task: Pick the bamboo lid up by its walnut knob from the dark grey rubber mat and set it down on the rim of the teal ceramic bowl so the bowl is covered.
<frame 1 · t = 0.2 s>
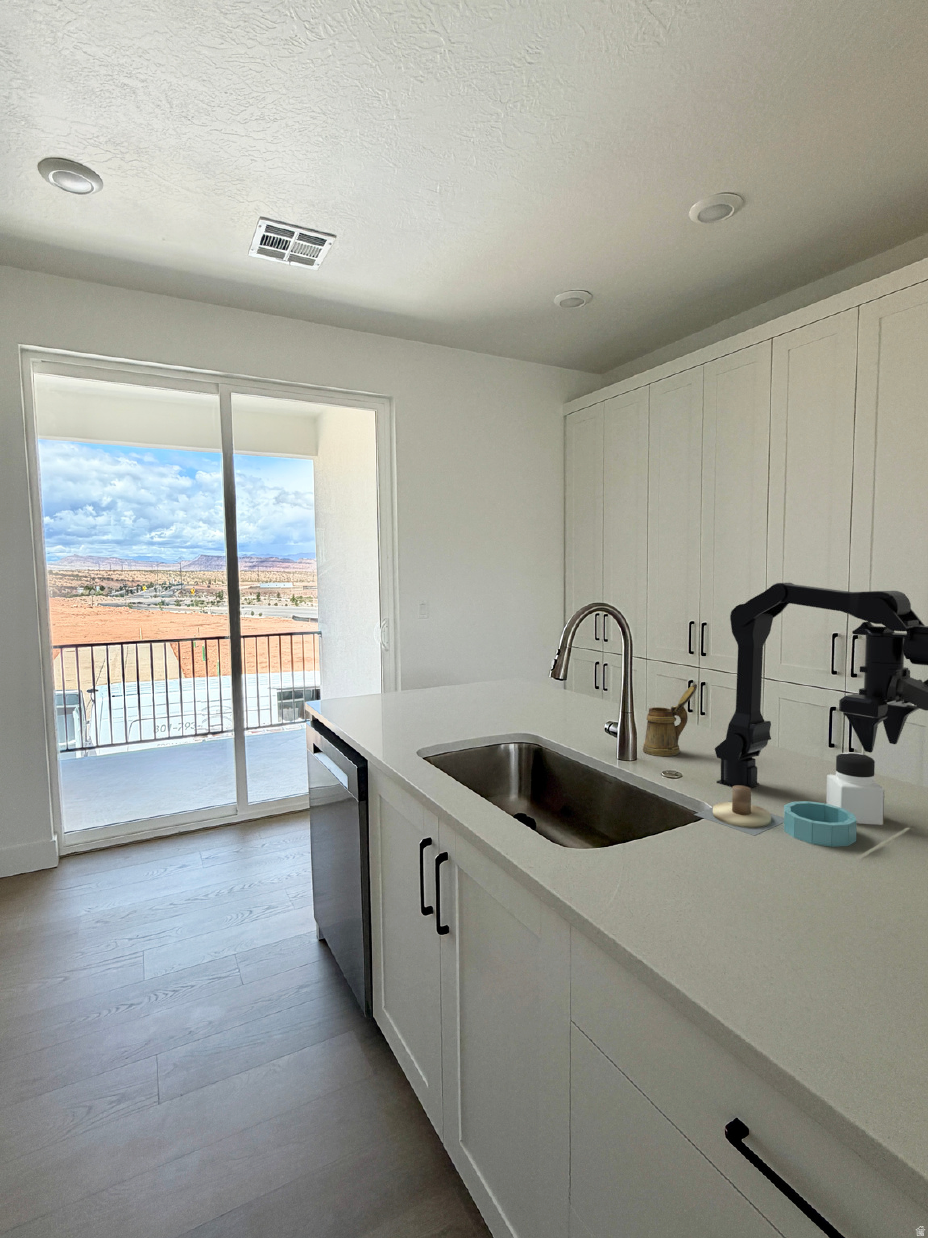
hand: (881, 747, 110), 14 cm above the worktop, fingers open, 9 cm apart
mat: (741, 819, 115), on the worktop
bowl: (818, 835, 107), on the worktop
medicine bottle: (853, 819, 114), on the worktop
wooden mug: (669, 752, 160), on the worktop
lid: (741, 817, 115), resting on mat
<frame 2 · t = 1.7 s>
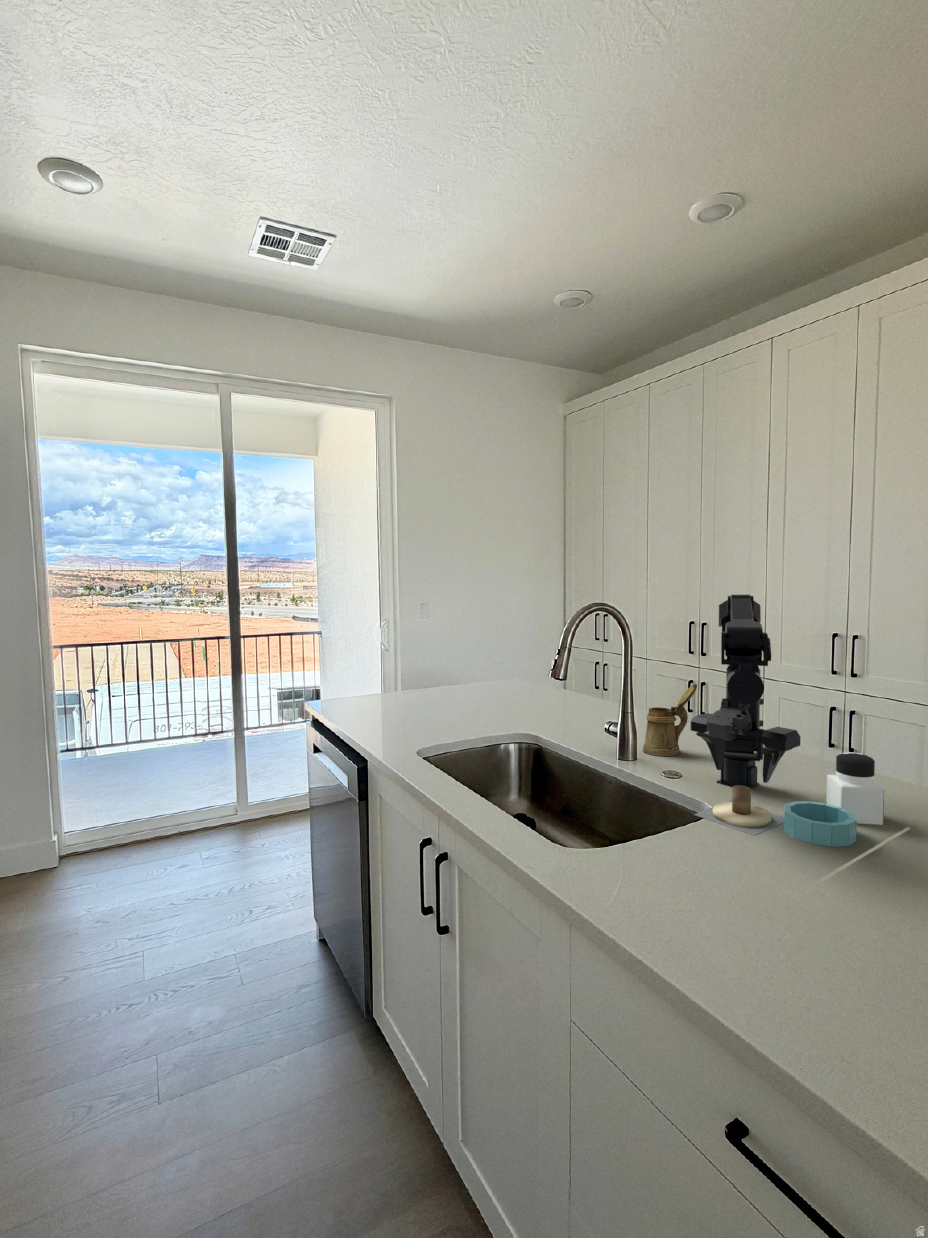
hand: (741, 775, 114), 8 cm above the worktop, fingers open, 9 cm apart
nothing on the worktop moved.
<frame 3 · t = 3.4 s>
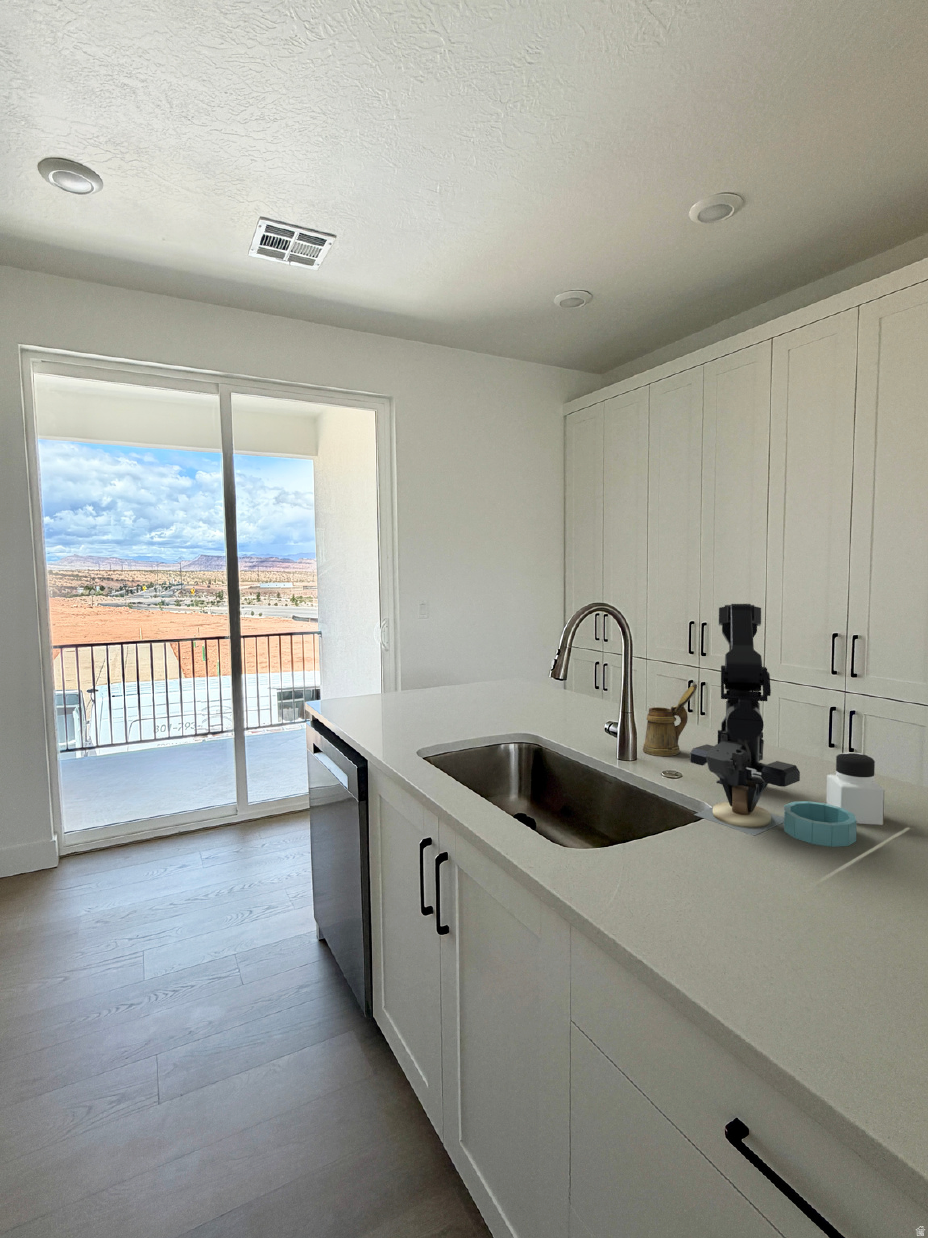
hand: (741, 809, 115), 2 cm above the worktop, fingers closed on lid, 3 cm apart
lid: (741, 817, 115), resting on mat, touching gripper
everything else where it was.
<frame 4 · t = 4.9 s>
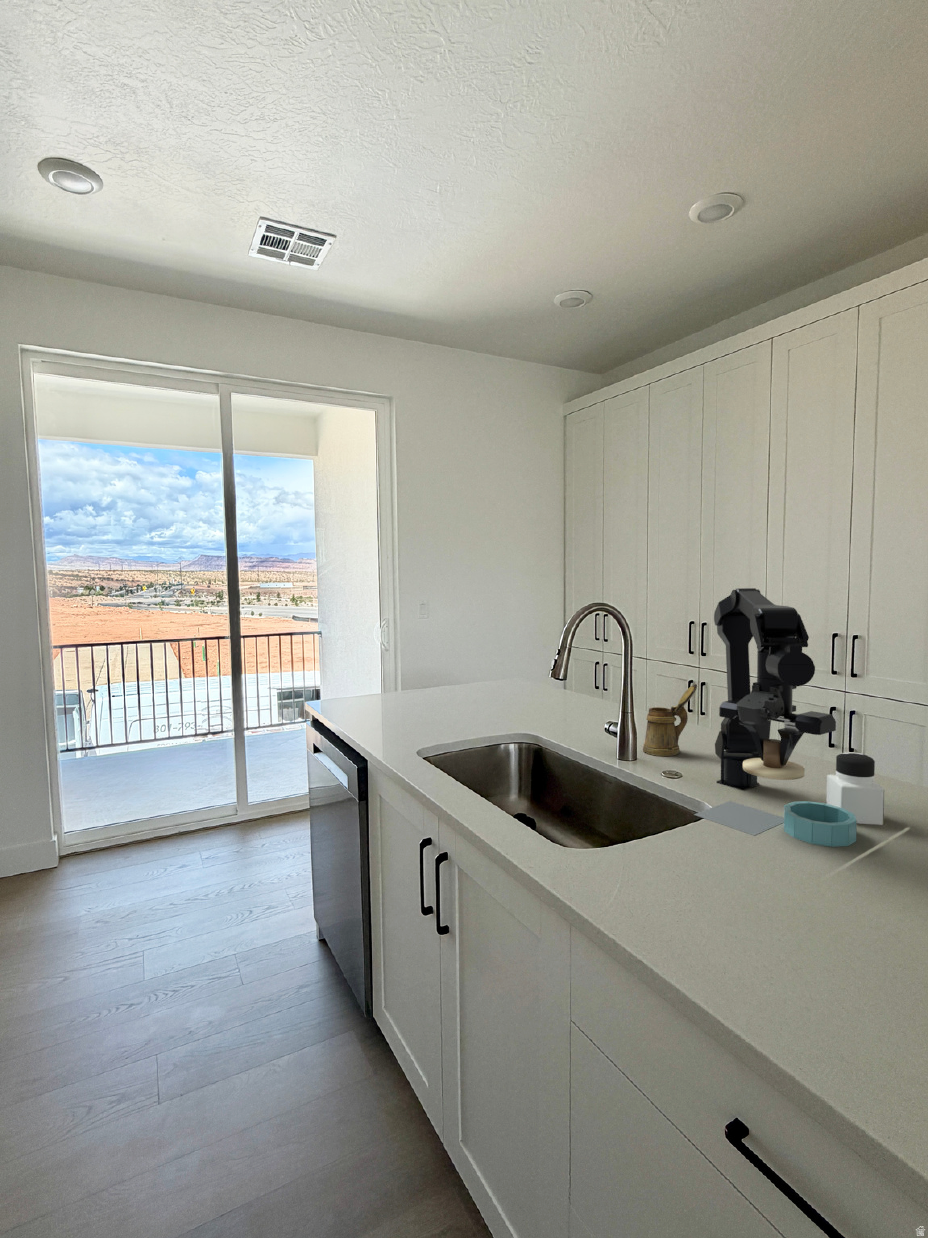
hand: (773, 762, 111), 12 cm above the worktop, fingers closed on lid, 3 cm apart
lid: (773, 771, 111), point 10 cm above the worktop, touching gripper
everything else where it was.
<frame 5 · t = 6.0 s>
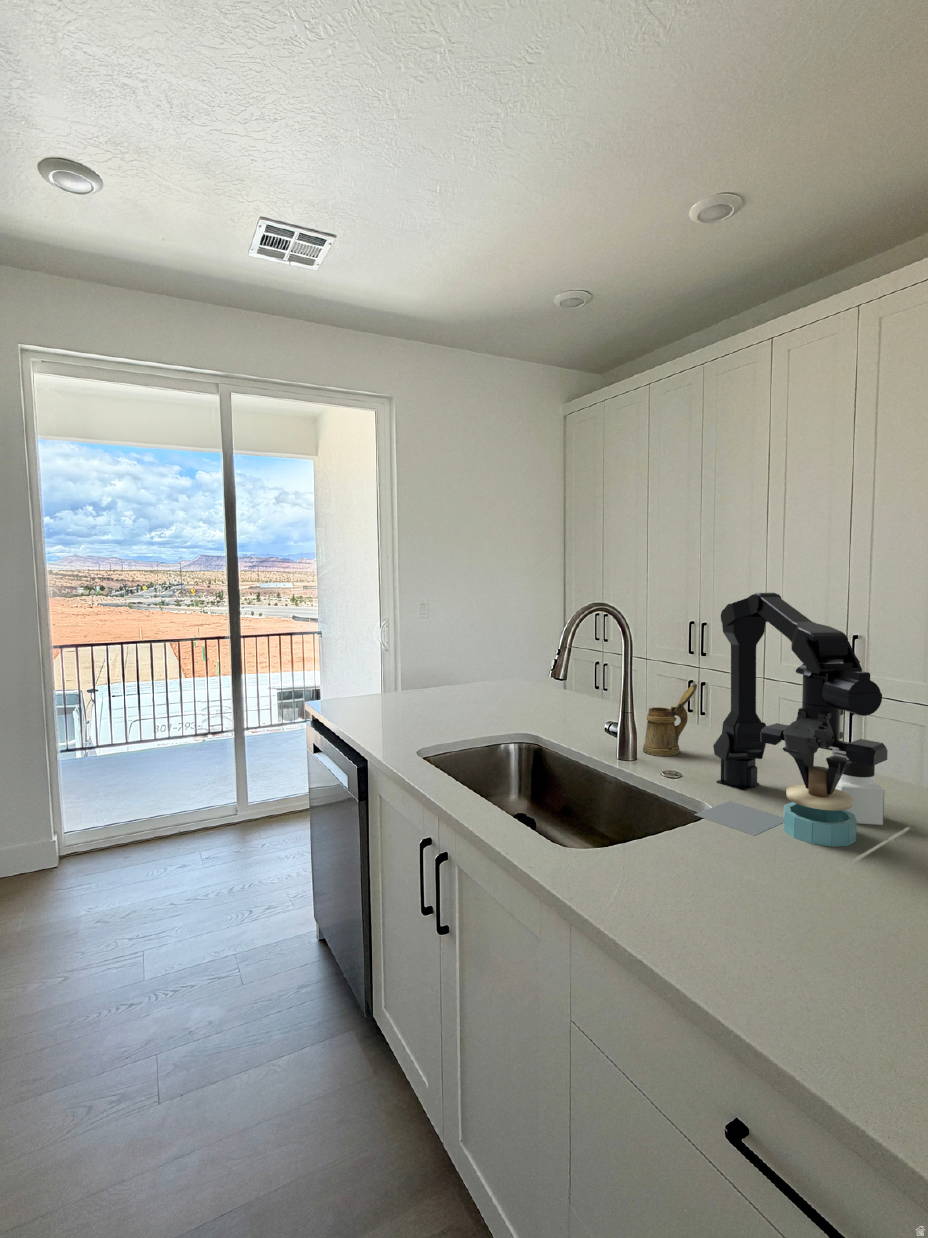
hand: (819, 791, 107), 8 cm above the worktop, fingers closed on lid, 3 cm apart
lid: (818, 799, 107), point 6 cm above the worktop, touching gripper
everything else where it was.
when the fingers open (7 cm above the worktop, at t = 6.7 s): lid drops 2 cm, resting on bowl.
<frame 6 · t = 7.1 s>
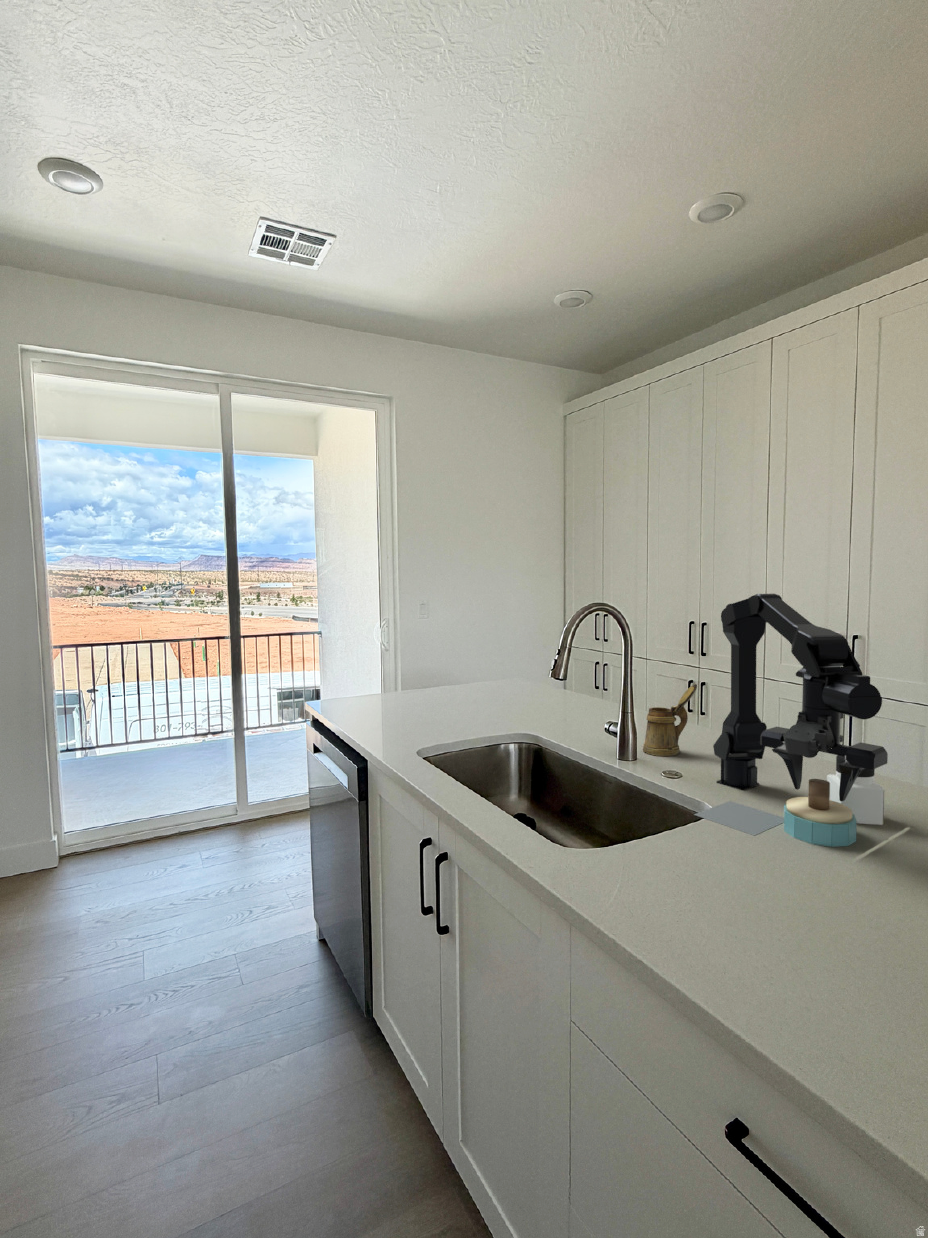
hand: (819, 794, 107), 7 cm above the worktop, fingers open, 7 cm apart
lid: (818, 812, 107), point 4 cm above the worktop, touching bowl
everything else where it was.
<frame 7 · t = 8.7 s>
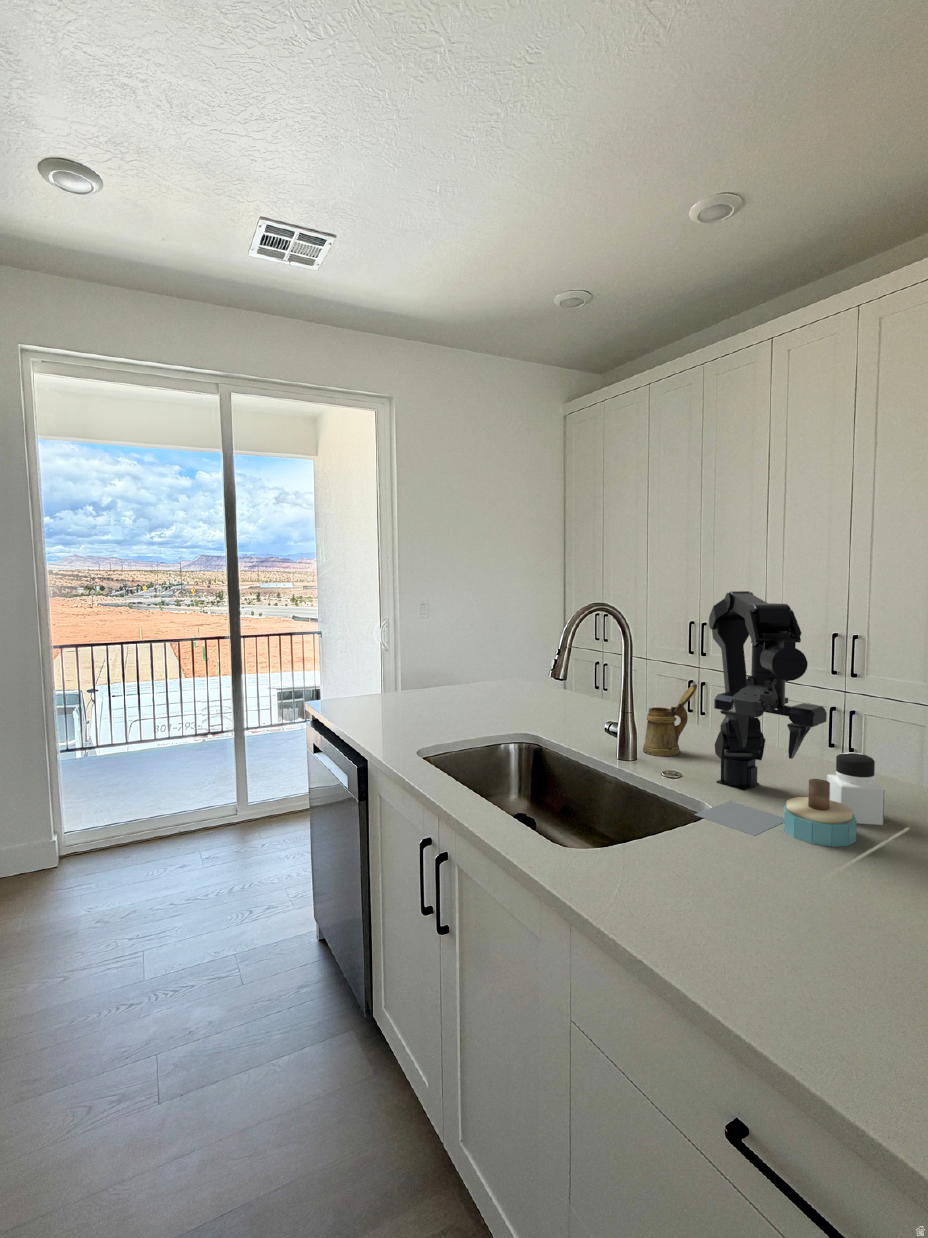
hand: (766, 752, 115), 12 cm above the worktop, fingers open, 9 cm apart
nothing on the worktop moved.
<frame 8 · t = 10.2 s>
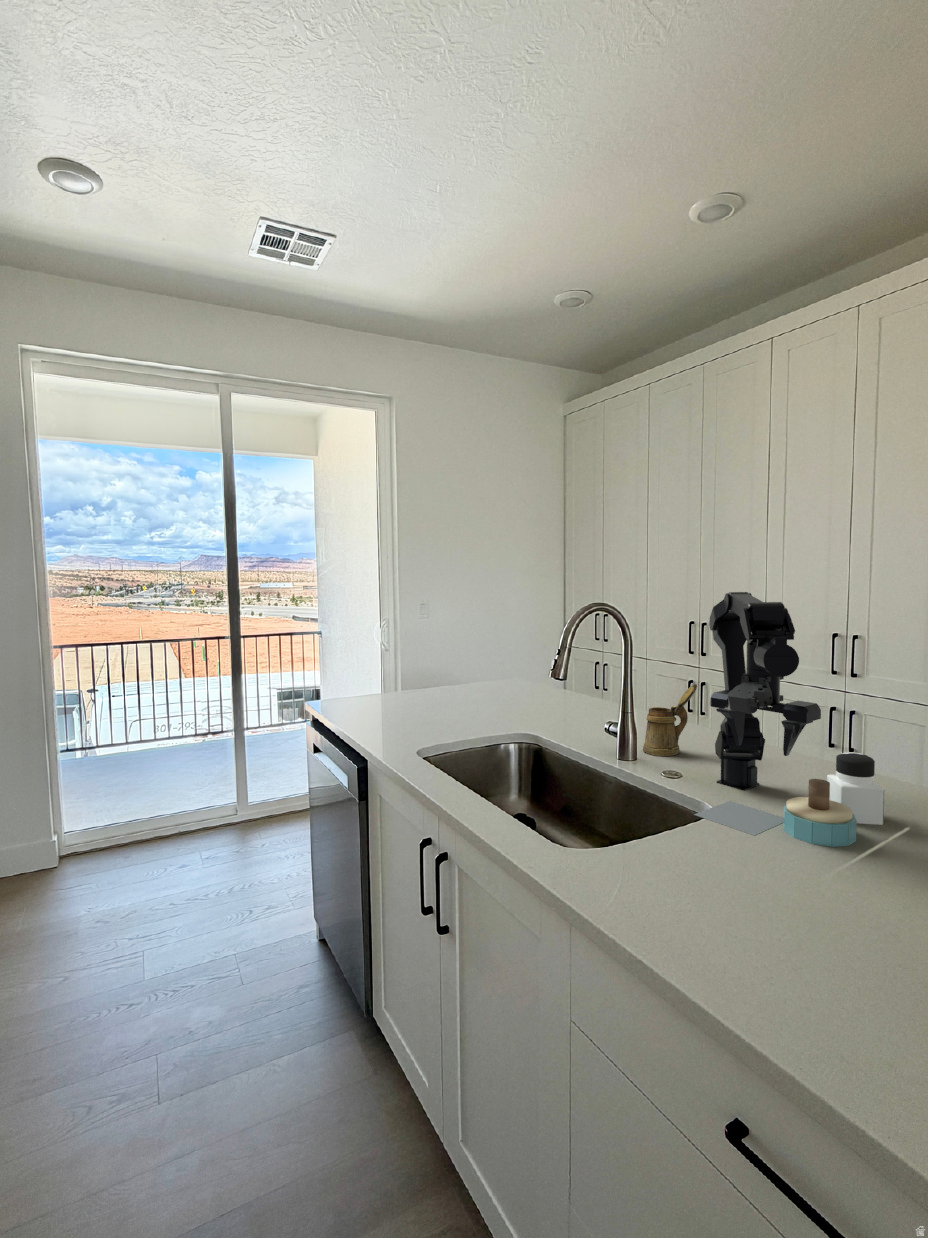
hand: (761, 750, 116), 13 cm above the worktop, fingers open, 9 cm apart
nothing on the worktop moved.
at the end: lid 0.1 cm off-centre on the bowl, point 4.0 cm above the bowl's base; lid tilted 0°; the gripper is holding nothing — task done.
